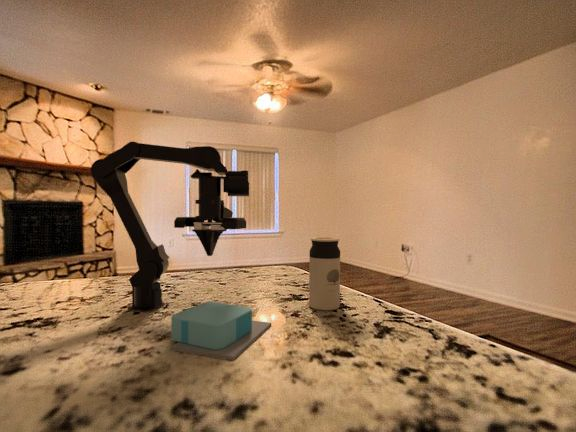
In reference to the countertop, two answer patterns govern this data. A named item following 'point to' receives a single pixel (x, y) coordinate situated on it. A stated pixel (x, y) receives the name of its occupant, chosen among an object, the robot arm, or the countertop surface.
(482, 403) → the countertop surface
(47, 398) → the countertop surface
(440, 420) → the countertop surface
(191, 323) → the data package
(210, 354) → the mat
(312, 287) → the travel mug
